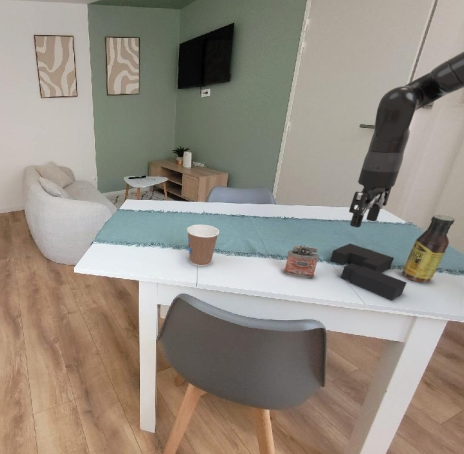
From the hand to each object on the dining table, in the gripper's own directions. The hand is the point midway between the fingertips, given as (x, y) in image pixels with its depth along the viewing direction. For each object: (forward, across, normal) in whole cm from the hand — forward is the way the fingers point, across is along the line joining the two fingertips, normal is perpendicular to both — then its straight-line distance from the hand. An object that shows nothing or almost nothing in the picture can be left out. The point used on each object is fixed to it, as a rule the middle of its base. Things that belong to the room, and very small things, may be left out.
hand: (363, 223), depth 84 cm
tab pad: (+17, -2, -7) cm, 18 cm away
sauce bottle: (+17, +14, -11) cm, 25 cm away
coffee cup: (+17, -33, +29) cm, 47 cm away
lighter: (+17, -13, +7) cm, 23 cm away
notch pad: (+17, +9, +1) cm, 19 cm away
